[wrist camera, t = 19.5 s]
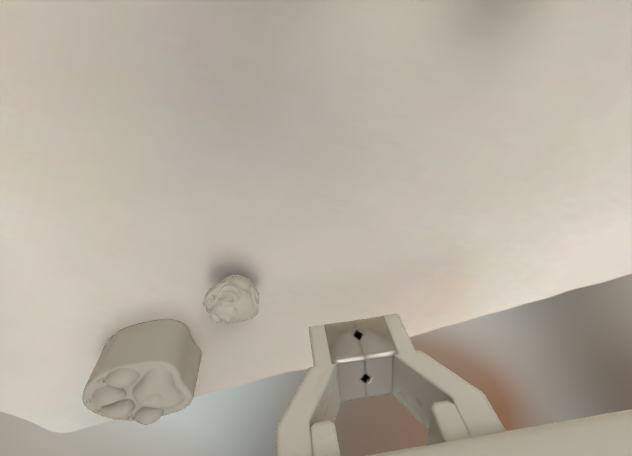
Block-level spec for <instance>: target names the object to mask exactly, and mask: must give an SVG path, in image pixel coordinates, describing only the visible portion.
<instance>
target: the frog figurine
mask: <svg viewBox="0 0 632 456" xmlns="http://www.w3.org/2000/svg"><path fill="white" fill-rule="evenodd" d="M258 303H259V293H258V291H257V289H256V288H255V286H254V285H253V284H252V282H251V281H250V280H249V279H248V278H246V277H245V276H242V275H230V276H227V277H225V278H224V279H222V280H221V281H220V283H219V284H218V285H216V286H214V287H213V288H211V289H209V291H208V292H207V293H206V296H205V298H204V300H203V306H204V307H205V308H206V311H207V312H208V313H209V314H210V317H211V319H212V320H213V321H214V322H216V323H217V322H220V321H221V322H225V323H235V322H241V321H246V320H249V319H251V318H253V317H254V316H255V315H256V314H257V313H258Z"/></svg>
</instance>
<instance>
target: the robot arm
mask: <svg viewBox="0 0 632 456" xmlns="http://www.w3.org/2000/svg"><path fill="white" fill-rule="evenodd" d="M309 334H310V342H311V349H312V357H313V364H314V367H310V368H309V370H308V371H307V373H306V375H305V377H304V379H303V380H302V382H301V384H300V386H299V388H298V390H297V391H296V393H295V395H294V397H293V398H292V400H291V402H290V404H289V405H288V407H287V409H286V411H285V413H284V414H283V416H282V418H281V420H280V421H279V423H278V425H277V427H276V454H277V456H340V451H339V446H338V440H337V435H336V429H335V424H334V421H335V418H336V415H337V412H338V410H339V407H340V402H345V401H350V400H355V399H361V398H366V397H373V396H381V395H388V394H392V395H393V396H394V397H395V398H396V399H397V400H398V401H399V402H400V403H401V404H402V405H403V406H404V407H405V408H406V409H407V410H408V411H409V412H410V413H411V414H412V415H413V416H414V417H415V418H416V419H417V420H418V421H419V422H420V423H421V424H422V425H423V426H424V427H426V429H427V430H428V431H429V432H428V440H427V445H426V446H420V447H415V448H409V449H403V450H398V451H392V452H385V453H380V454H374V455H368V456H632V409H631V410H625V411H620V412H614V413H608V414H603V415H597V416H591V417H585V418H580V419H574V420H569V421H562V422H557V423H551V424H545V425H539V426H534V427H528V428H522V429H517V430H511V431H506V430H505V429H504V427H503V425H502V424H501V422H500V420H499V419H498V417H497V415H496V413H495V412H494V410H493V408H492V407H491V405H490V403H489V401H488V400H487V398H486V396H485V395H484V393H483V392H481V391H479V390H478V389H477V388H475V387H474V386H472V385H471V384H469V383H468V382H466V381H465V380H463V379H462V378H460V377H459V376H457V375H456V374H454V373H453V372H451V371H450V370H448V369H447V368H445V367H444V366H442V365H441V364H440V363H438V362H437V361H435V360H433V359H432V358H431V357H429V356H428V355H426V354H425V353H423V352H422V351H420V350H417V351H415V349H414V347H413V345H412V343H411V340H410V338H409V336H408V334H407V332H406V330H405V327H404V325H403V323H402V321H401V319H400V316H399V315H398V314H391V315H385V316H379V317H373V318H367V319H361V320H355V321H349V322H341V323H334V324H326V325H321V326H312V327H309Z"/></svg>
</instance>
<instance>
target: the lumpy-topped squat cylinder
mask: <svg viewBox="0 0 632 456" xmlns="http://www.w3.org/2000/svg"><path fill="white" fill-rule="evenodd" d="M200 360H201V351H200V349H199V348H198V347H197V346H196V344H195V343H194V342H193V340H192V338H191V334H190V331H189V329H188V328H187V326H186V325H184V324H183V323H181V322H179V321H175V320H169V319H164V320H156V321H150V322H145V323H140V324H137V325H133V326H130V327H127V328H124V329H122V330H120V331H119V332H117V333H116V334H115V335H114V336H113V337H112V338H111V339H110V340H109V341H108V342H107V344H106V346H105V348H104V350H103V352H102V354H101V356H100V358H99V360H98V362H97V364H96V366H95V368H94V370H93V372H92V374H91V376H90V378H89V380H88V382H87V384H86V387H85V389H84V392H83V403H84V405H85V406H86V407H87V408H88V409H89V410H91V411H92V412H94V413H96V414H99V415H101V416H105V417H108V418H112V419H118V420H129V421H137V422H138V423H141V424H144V425H148V424H152V423H154V422H155V421H157V420H158V419H159V418H160V417H161V416H163V415H167V414H170V413H174V412H177V411H179V410H182V409H184V408H186V407H187V406H188V405H189V404H190V403H191V401H192V399H193V396H194V391H195V386H196V381H197V376H198V371H199V365H200Z"/></svg>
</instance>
